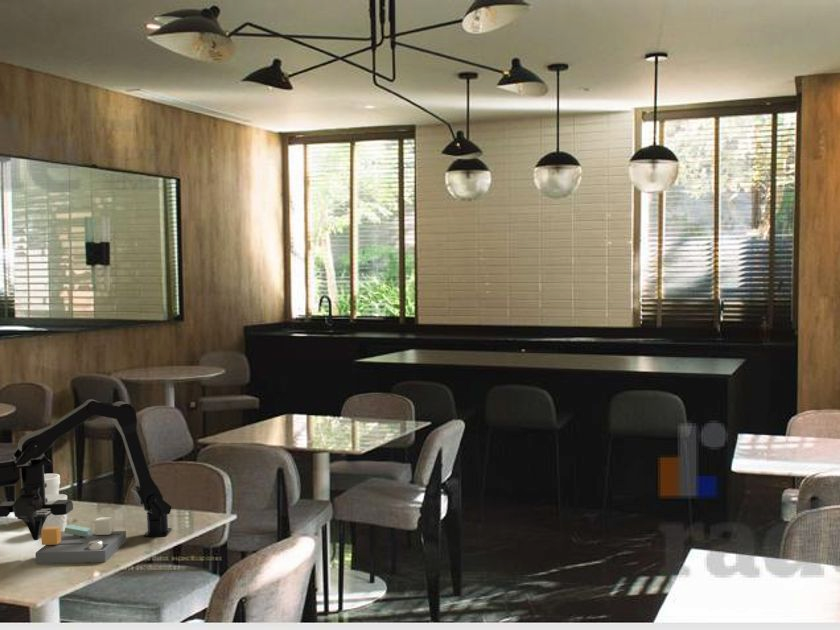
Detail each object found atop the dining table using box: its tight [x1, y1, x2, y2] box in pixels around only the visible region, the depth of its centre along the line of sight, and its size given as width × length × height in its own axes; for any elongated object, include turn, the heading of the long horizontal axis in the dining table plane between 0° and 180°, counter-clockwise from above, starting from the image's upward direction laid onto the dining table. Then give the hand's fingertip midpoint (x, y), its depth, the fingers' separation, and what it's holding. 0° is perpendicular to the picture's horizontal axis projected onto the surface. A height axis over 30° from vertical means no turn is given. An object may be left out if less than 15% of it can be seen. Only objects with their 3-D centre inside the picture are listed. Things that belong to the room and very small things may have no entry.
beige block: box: [94, 516, 114, 535], centre depth 254 cm, size 3×4×4 cm
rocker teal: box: [63, 524, 91, 537], centre depth 253 cm, size 3×6×2 cm, turn 91°
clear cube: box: [89, 540, 103, 550], centre depth 243 cm, size 4×4×4 cm
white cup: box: [42, 493, 68, 533], centre depth 270 cm, size 8×8×10 cm
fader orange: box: [40, 527, 62, 546], centre depth 246 cm, size 3×4×4 cm
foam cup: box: [44, 473, 61, 496], centre depth 284 cm, size 10×9×13 cm
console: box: [35, 530, 127, 565], centre depth 248 cm, size 18×18×4 cm
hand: (36, 539), depth 246 cm, fingers closed
